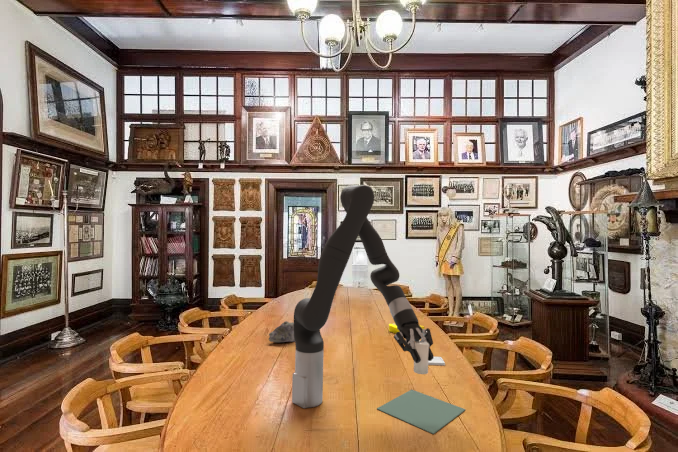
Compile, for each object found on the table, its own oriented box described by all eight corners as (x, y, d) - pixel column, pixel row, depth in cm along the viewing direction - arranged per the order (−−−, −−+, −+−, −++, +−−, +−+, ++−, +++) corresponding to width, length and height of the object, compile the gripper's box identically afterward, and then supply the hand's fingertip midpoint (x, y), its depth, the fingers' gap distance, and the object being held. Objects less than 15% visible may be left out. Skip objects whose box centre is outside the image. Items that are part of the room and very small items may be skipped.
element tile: (426, 334, 206) (426, 325, 206) (406, 338, 197) (406, 329, 197) (406, 327, 218) (406, 319, 218) (387, 331, 209) (387, 323, 209)
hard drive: (441, 356, 166) (412, 355, 167) (445, 363, 158) (415, 361, 159) (440, 360, 166) (412, 358, 167) (445, 366, 158) (415, 365, 159)
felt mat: (433, 434, 105) (433, 433, 105) (376, 409, 119) (376, 408, 119) (465, 410, 119) (465, 409, 119) (411, 390, 133) (411, 389, 133)
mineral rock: (268, 344, 181) (268, 323, 181) (272, 338, 192) (272, 318, 192) (294, 345, 181) (295, 324, 181) (297, 338, 192) (297, 318, 192)
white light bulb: (423, 375, 117) (424, 346, 117) (410, 371, 120) (411, 343, 120) (430, 371, 120) (431, 343, 120) (418, 367, 123) (419, 340, 123)
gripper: (390, 309, 123) (412, 358, 112) (424, 306, 130) (448, 352, 119) (381, 321, 128) (401, 369, 117) (414, 318, 134) (436, 363, 124)
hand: (425, 360), depth 118 cm, fingers closed on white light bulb, 4 cm apart
